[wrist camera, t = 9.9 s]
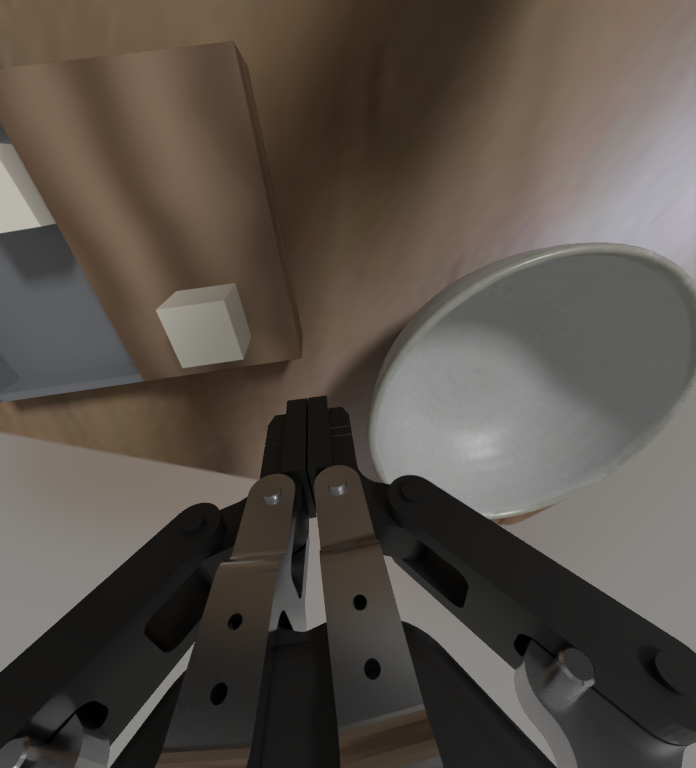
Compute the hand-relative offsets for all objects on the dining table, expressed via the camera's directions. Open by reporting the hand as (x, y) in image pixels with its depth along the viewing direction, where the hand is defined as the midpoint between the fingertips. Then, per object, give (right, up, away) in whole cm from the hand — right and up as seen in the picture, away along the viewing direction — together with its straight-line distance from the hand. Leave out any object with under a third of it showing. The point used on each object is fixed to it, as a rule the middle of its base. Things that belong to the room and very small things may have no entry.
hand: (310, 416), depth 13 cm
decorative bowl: (+15, +5, +24) cm, 29 cm away
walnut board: (-11, +13, +15) cm, 23 cm away
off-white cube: (-9, +7, +13) cm, 18 cm away
